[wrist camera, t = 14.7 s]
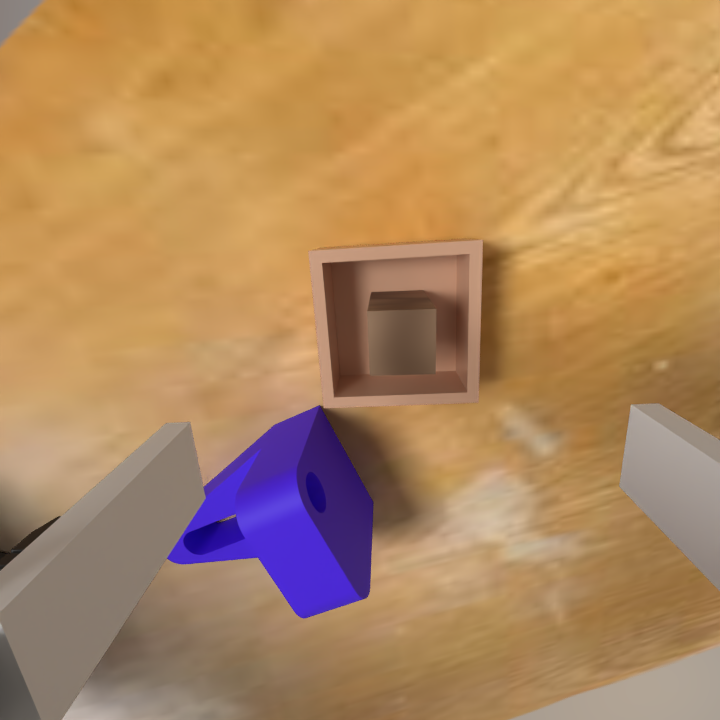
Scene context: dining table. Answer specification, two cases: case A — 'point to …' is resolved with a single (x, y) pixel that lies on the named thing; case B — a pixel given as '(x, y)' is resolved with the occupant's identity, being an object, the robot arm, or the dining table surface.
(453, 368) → the planter
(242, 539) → the bracket
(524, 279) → the dining table surface
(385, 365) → the walnut post
